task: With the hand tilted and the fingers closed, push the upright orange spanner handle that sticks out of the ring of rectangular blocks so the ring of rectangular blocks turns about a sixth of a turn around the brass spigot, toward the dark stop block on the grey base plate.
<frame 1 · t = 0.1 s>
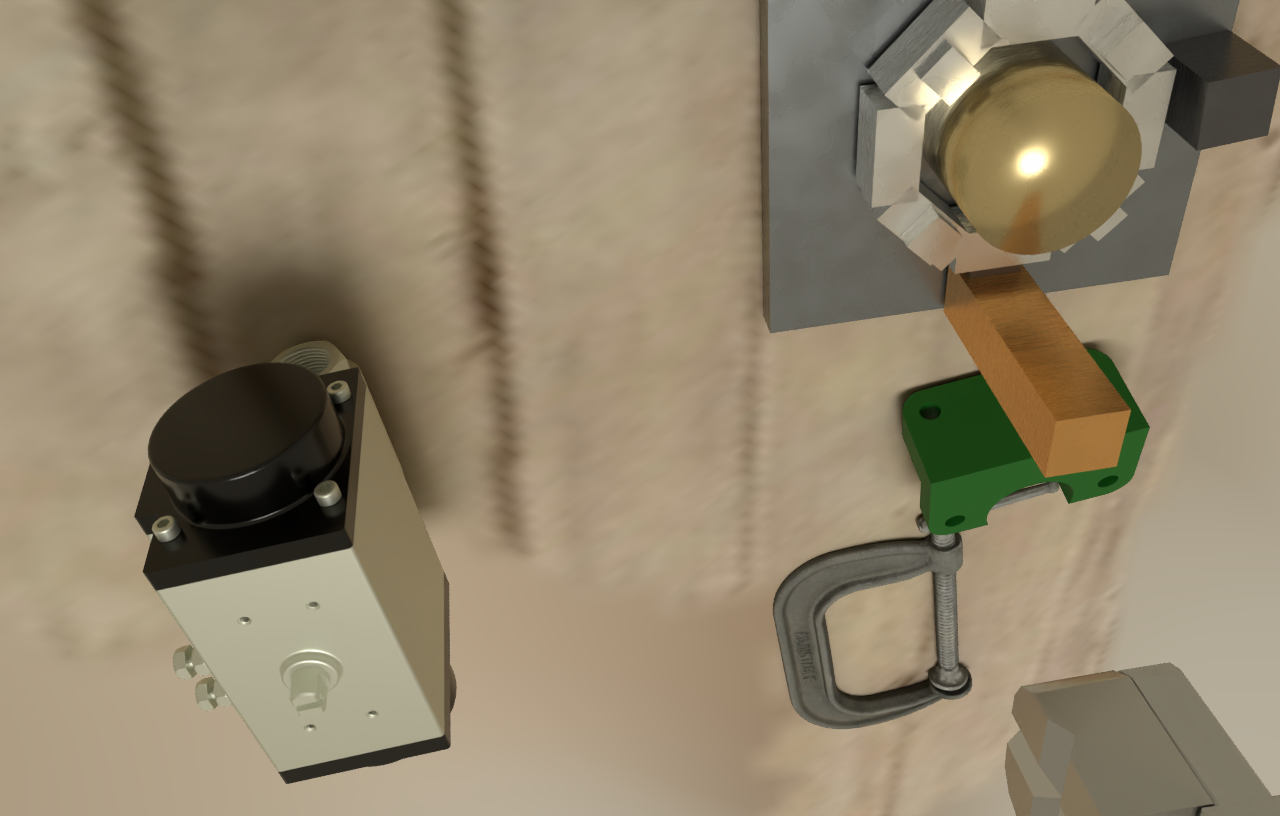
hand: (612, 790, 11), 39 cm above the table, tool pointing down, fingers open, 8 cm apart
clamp: (994, 411, 63), on the table
ball valve: (326, 409, 56), on the table
ring of rectangular blocks: (1049, 223, 45), point 8 cm above the table, hinge at 0.0°
base plate: (983, 98, 50), on the table
c clamp: (902, 606, 73), on the table
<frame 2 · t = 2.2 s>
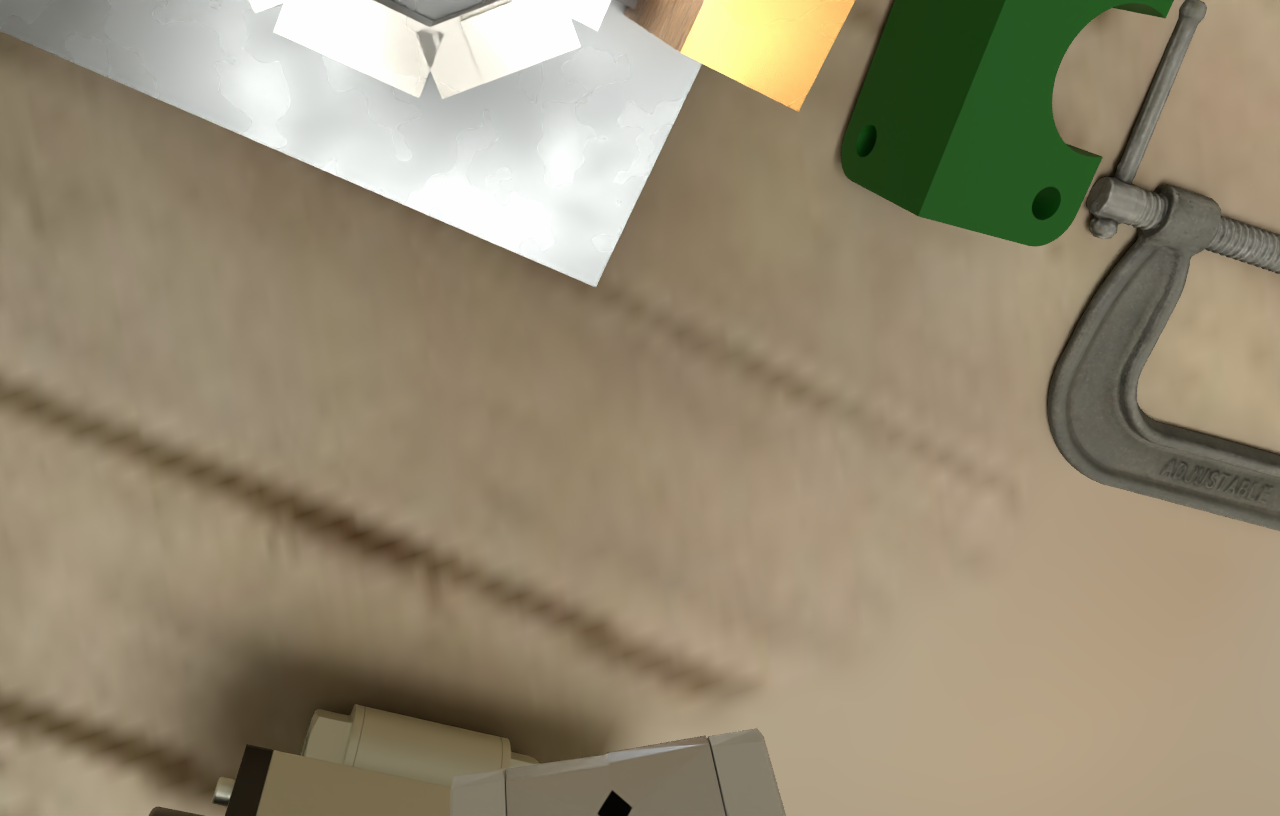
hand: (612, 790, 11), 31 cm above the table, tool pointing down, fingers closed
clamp: (977, 41, 40), on the table
ball valve: (416, 751, 48), on the table
c clamp: (1257, 311, 45), on the table
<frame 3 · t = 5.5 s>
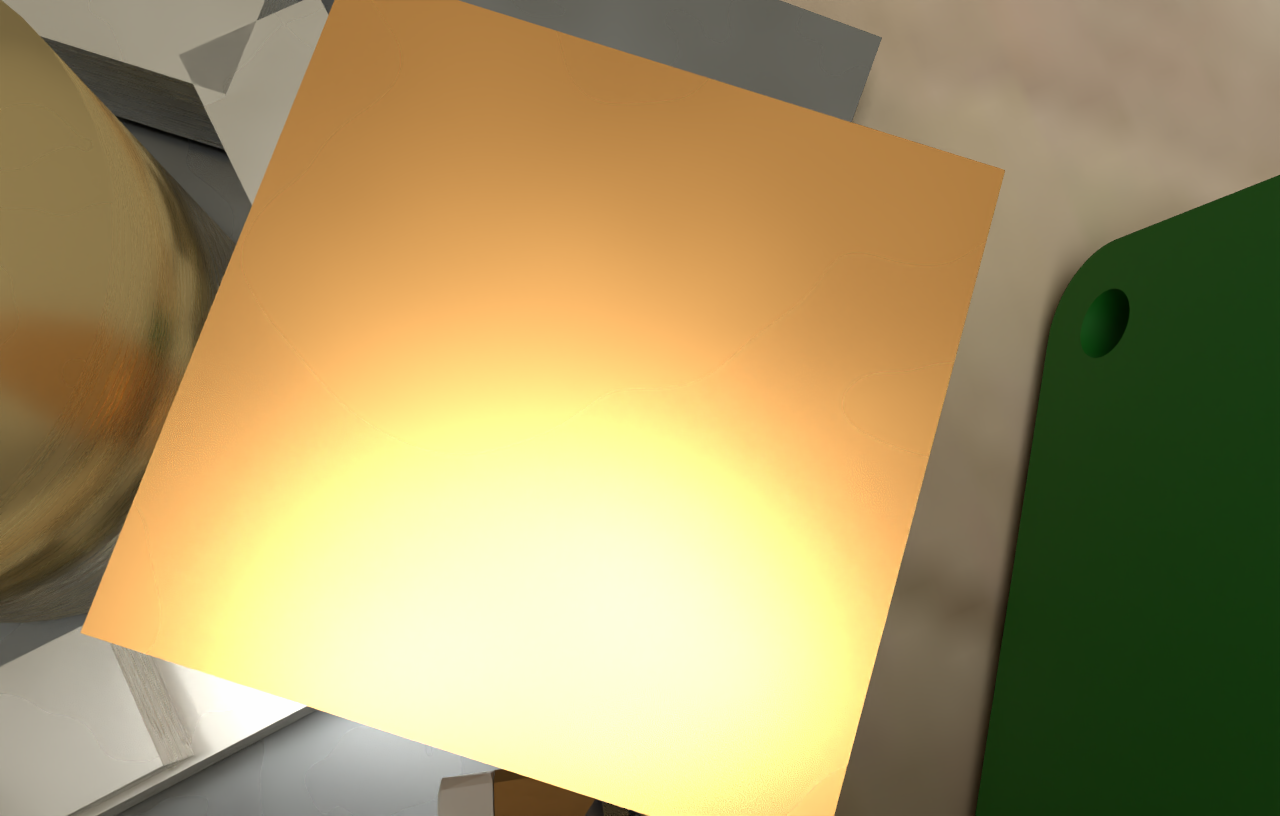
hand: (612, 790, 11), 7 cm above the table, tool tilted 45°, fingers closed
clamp: (1205, 636, 19), on the table
base plate: (83, 402, 18), on the table
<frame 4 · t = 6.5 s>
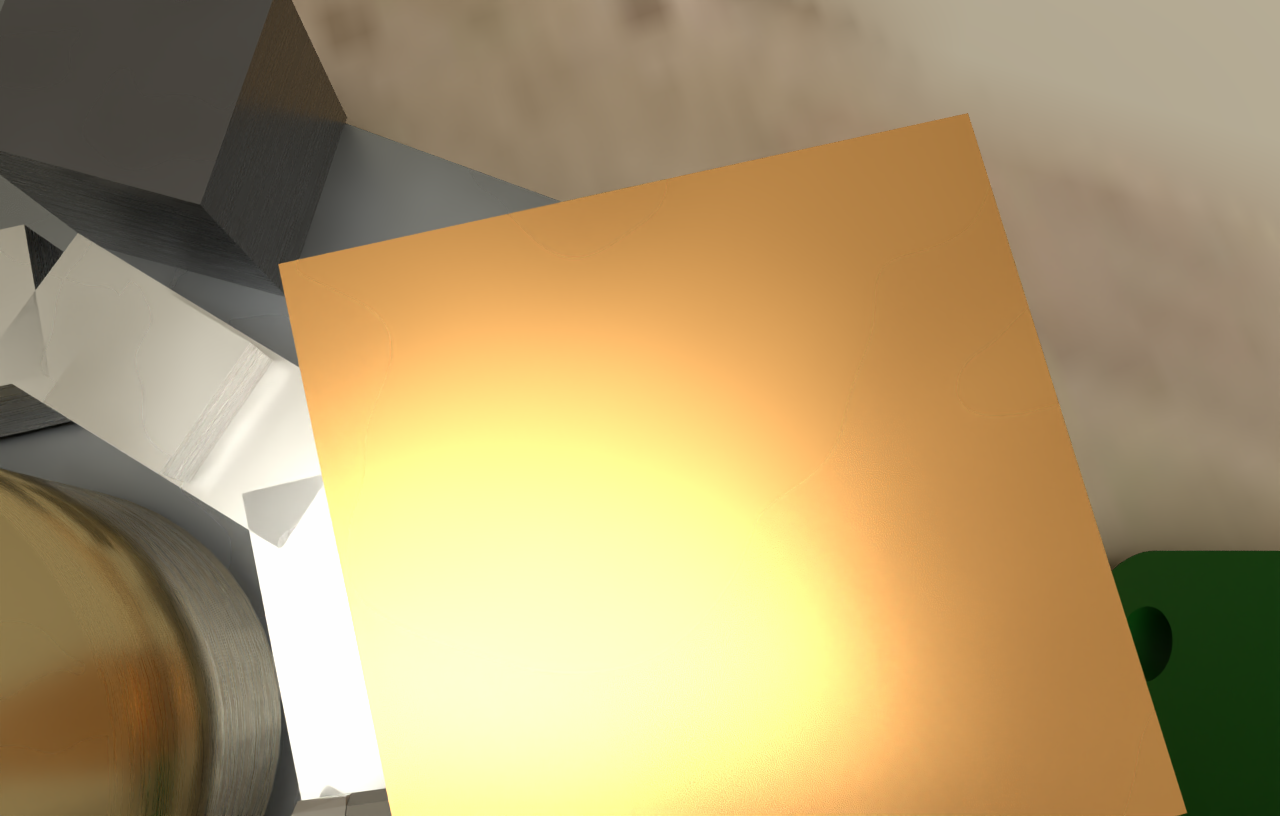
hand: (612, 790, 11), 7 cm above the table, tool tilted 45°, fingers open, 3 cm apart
base plate: (73, 725, 17), on the table
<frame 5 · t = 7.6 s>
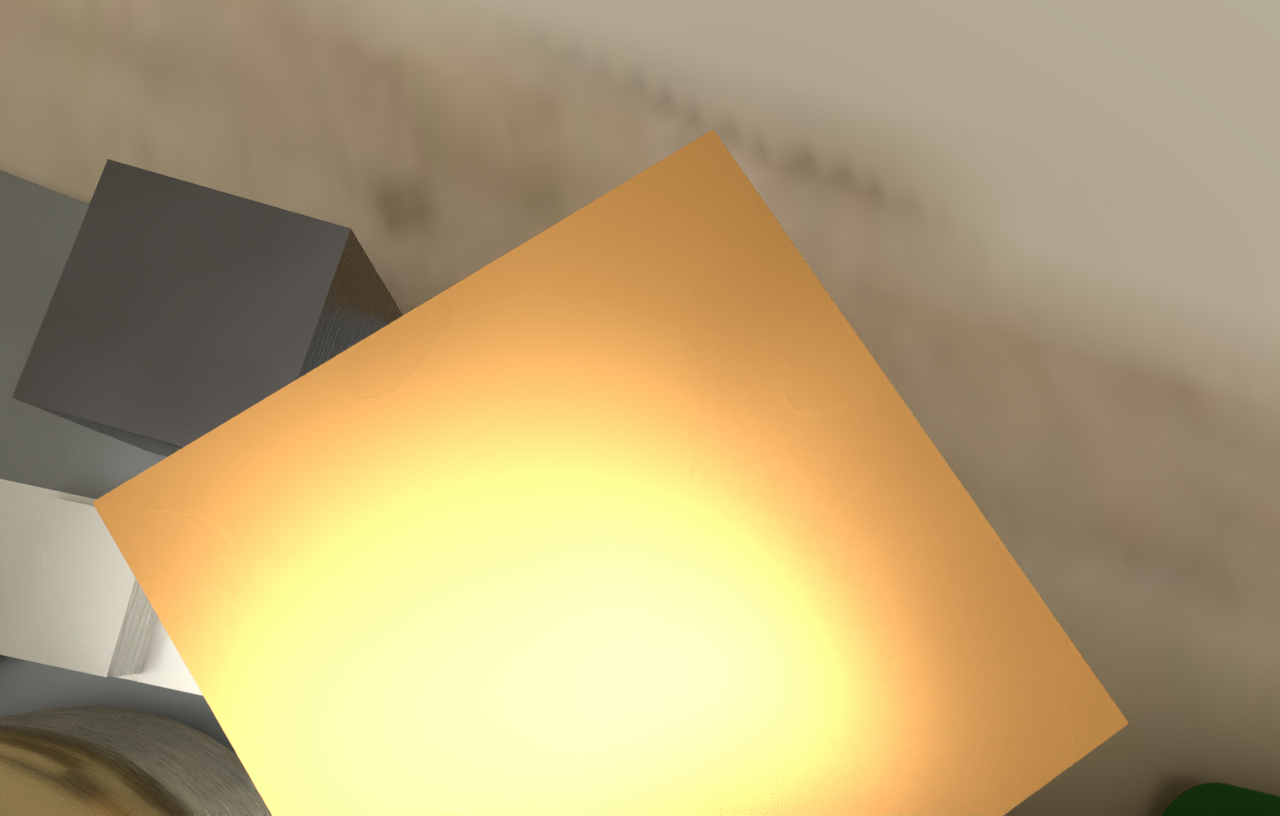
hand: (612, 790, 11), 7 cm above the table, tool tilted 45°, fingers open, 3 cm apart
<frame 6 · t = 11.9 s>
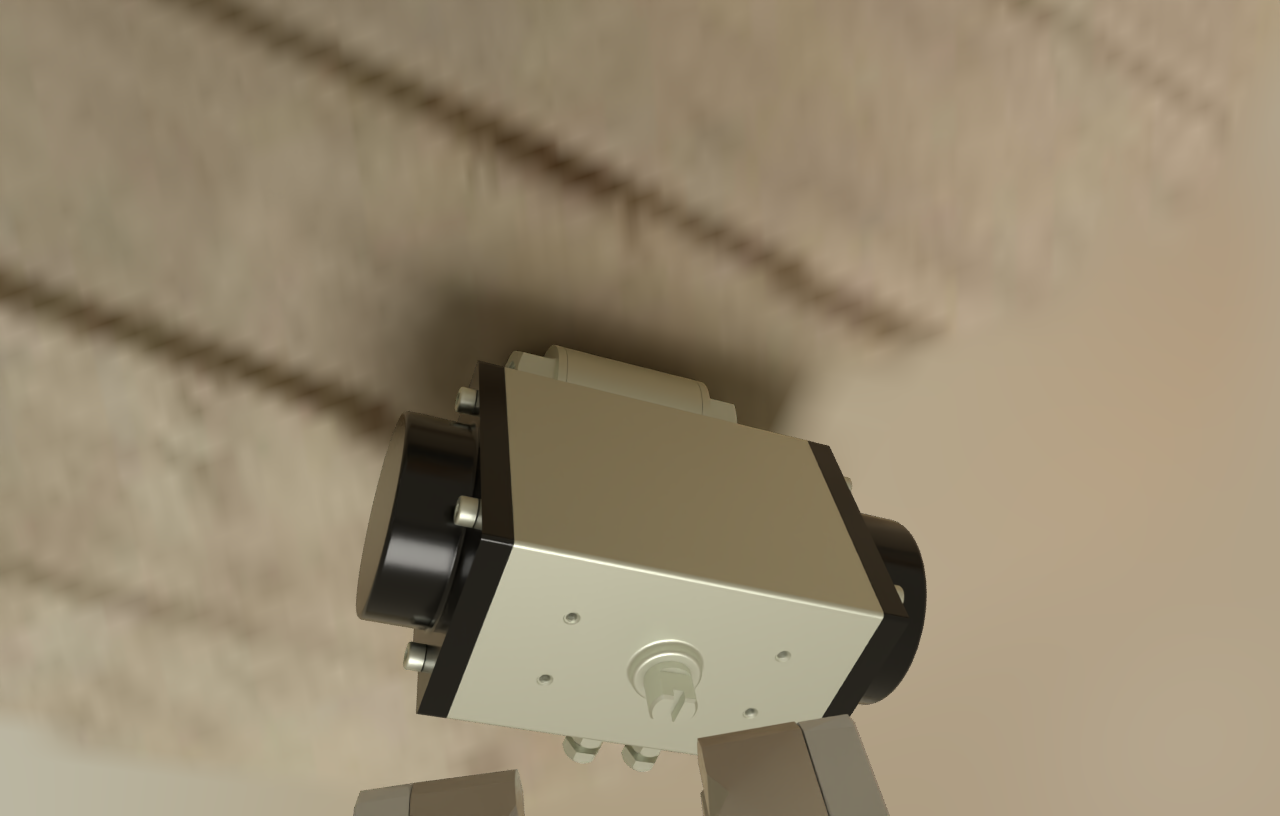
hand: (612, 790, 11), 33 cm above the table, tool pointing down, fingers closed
ball valve: (603, 399, 48), on the table
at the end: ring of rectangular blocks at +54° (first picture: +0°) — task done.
